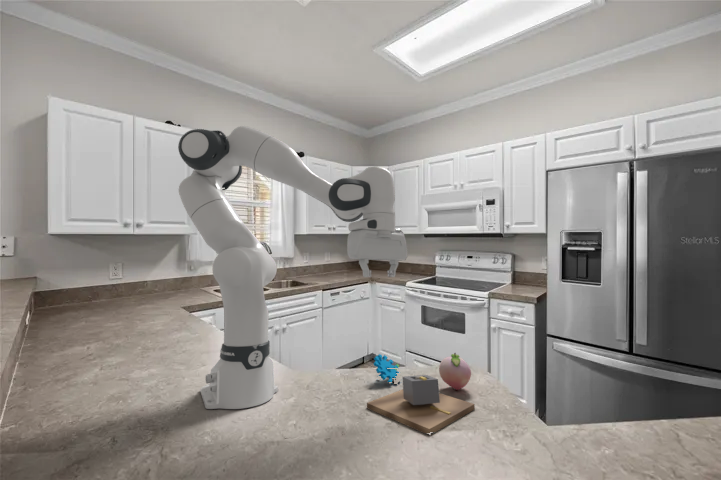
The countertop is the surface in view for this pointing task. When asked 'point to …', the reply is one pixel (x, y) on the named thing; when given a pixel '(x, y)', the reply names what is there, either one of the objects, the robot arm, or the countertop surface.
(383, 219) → the robot arm
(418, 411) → the brown square board
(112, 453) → the countertop surface
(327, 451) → the countertop surface
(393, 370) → the gear
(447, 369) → the decorative fruit
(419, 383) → the square tunnel box
